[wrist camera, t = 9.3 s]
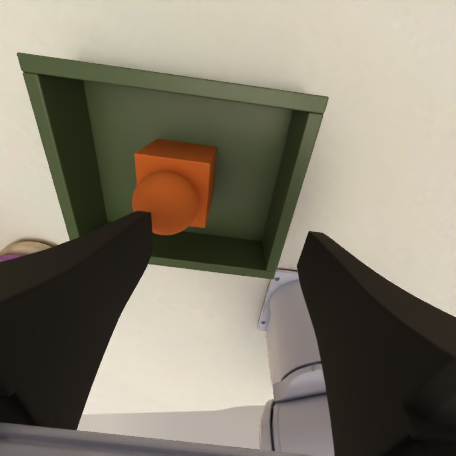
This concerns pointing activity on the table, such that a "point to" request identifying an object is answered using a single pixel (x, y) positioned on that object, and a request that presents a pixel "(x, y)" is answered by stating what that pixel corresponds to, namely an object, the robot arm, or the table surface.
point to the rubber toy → (174, 184)
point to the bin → (182, 132)
